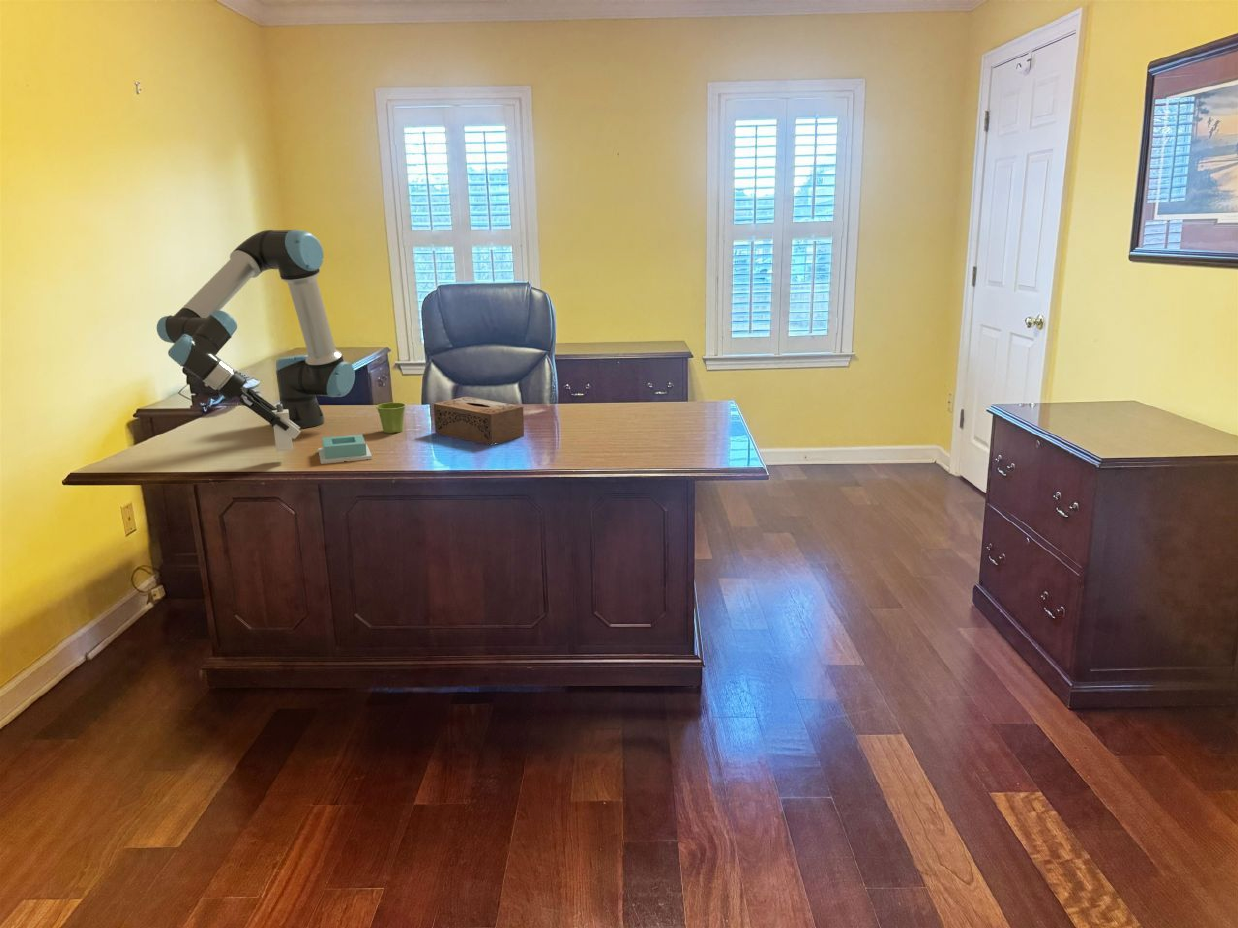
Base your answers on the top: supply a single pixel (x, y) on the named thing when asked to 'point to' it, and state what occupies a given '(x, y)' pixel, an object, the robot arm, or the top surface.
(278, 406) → the plug
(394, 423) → the plant pot
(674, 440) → the top surface
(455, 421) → the tissue box cover
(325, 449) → the socket
